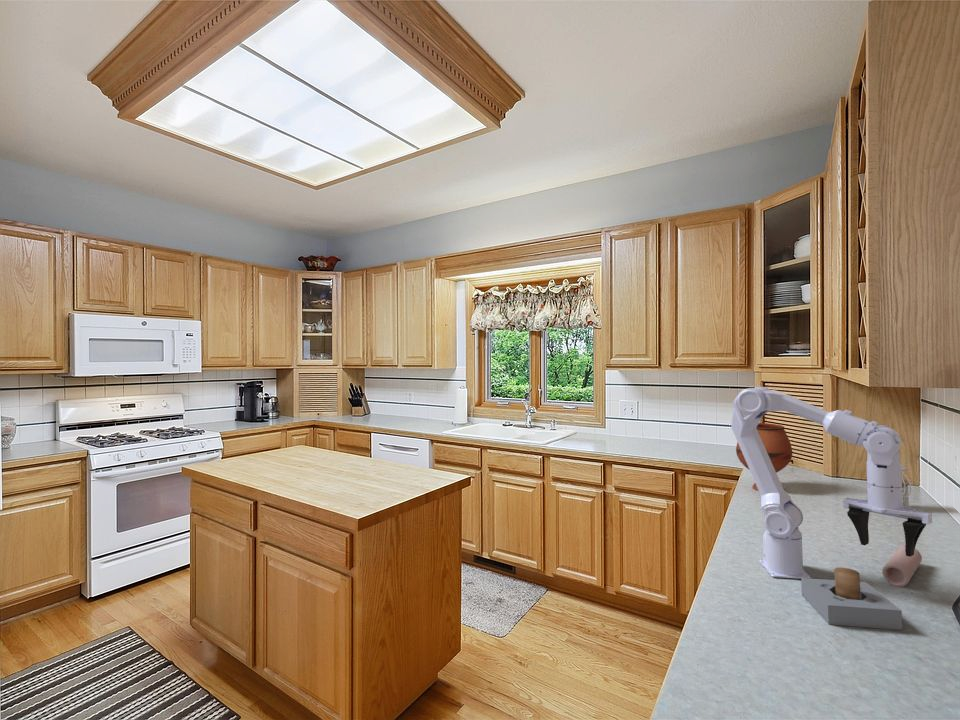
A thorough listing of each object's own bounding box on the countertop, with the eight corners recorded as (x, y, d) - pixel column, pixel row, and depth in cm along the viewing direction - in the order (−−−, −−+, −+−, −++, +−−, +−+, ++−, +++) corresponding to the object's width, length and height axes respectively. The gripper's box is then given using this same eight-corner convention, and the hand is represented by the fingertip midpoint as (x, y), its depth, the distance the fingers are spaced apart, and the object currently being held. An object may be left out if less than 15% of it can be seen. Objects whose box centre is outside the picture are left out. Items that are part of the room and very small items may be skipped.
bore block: (801, 594, 104) (801, 578, 104) (866, 599, 102) (865, 582, 102) (828, 624, 93) (827, 605, 93) (902, 630, 90) (901, 610, 90)
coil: (895, 543, 121) (879, 563, 109) (920, 546, 117) (906, 567, 106) (899, 562, 121) (882, 585, 109) (924, 566, 117) (910, 589, 105)
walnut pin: (832, 601, 100) (830, 566, 100) (854, 603, 99) (853, 568, 99) (841, 611, 96) (840, 575, 96) (865, 612, 95) (863, 576, 95)
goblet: (743, 494, 184) (741, 427, 184) (732, 482, 202) (730, 421, 202) (801, 496, 178) (799, 428, 178) (785, 484, 196) (783, 422, 197)
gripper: (835, 481, 107) (838, 543, 107) (922, 494, 94) (924, 565, 94) (850, 476, 111) (852, 536, 110) (934, 489, 98) (937, 557, 98)
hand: (886, 549), depth 103 cm, fingers open, 7 cm apart
